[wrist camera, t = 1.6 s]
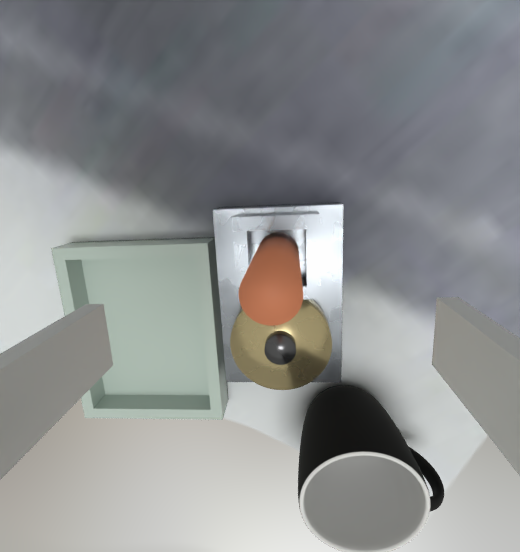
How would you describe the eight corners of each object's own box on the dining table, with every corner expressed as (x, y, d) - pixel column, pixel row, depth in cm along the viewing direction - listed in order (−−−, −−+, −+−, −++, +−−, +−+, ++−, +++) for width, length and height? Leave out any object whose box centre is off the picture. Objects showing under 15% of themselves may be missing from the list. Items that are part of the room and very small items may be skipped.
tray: (72, 242, 32) (51, 248, 29) (215, 237, 31) (207, 243, 28) (101, 398, 36) (85, 417, 33) (228, 399, 35) (222, 419, 32)
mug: (283, 435, 36) (281, 532, 26) (315, 359, 33) (325, 434, 23) (398, 474, 36) (438, 585, 26) (438, 400, 33) (499, 492, 23)
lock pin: (257, 232, 28) (236, 264, 17) (298, 231, 28) (302, 263, 17) (259, 272, 29) (240, 326, 18) (299, 271, 29) (303, 325, 18)
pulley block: (337, 367, 33) (346, 403, 28) (230, 367, 34) (219, 402, 29) (339, 202, 29) (349, 207, 24) (218, 207, 30) (203, 213, 25)
